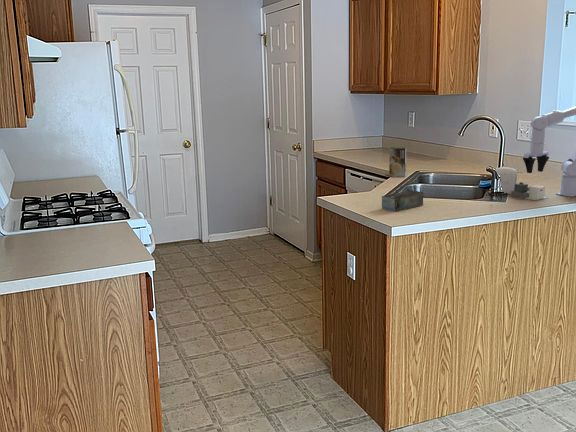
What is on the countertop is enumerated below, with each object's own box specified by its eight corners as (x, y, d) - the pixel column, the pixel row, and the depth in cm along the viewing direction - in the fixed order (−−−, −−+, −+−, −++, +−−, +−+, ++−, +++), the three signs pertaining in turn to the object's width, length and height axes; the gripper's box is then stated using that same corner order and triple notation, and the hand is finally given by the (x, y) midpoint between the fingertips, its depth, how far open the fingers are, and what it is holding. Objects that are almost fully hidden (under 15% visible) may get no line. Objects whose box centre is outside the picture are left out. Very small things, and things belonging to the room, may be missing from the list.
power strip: (531, 193, 272) (532, 178, 271) (544, 195, 266) (545, 181, 265) (511, 196, 266) (512, 181, 264) (523, 198, 260) (524, 183, 258)
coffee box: (406, 175, 328) (407, 147, 324) (405, 177, 322) (406, 148, 318) (390, 174, 330) (390, 147, 327) (388, 176, 324) (389, 148, 321)
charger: (535, 196, 263) (536, 185, 262) (544, 197, 259) (545, 186, 258) (528, 197, 261) (529, 186, 260) (537, 198, 257) (538, 187, 256)
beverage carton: (380, 209, 243) (380, 194, 242) (409, 203, 255) (410, 188, 253) (394, 212, 237) (395, 197, 235) (424, 206, 249) (424, 191, 247)
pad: (538, 196, 264) (538, 195, 264) (547, 198, 260) (547, 197, 260) (525, 198, 260) (525, 197, 260) (534, 200, 256) (534, 199, 256)
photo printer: (516, 193, 273) (518, 167, 270) (514, 194, 269) (516, 168, 266) (493, 191, 278) (495, 166, 275) (492, 192, 274) (493, 167, 271)
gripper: (540, 141, 271) (537, 169, 274) (519, 143, 264) (517, 172, 267) (553, 142, 265) (550, 171, 268) (532, 144, 258) (529, 174, 261)
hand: (534, 172), depth 267 cm, fingers open, 7 cm apart
